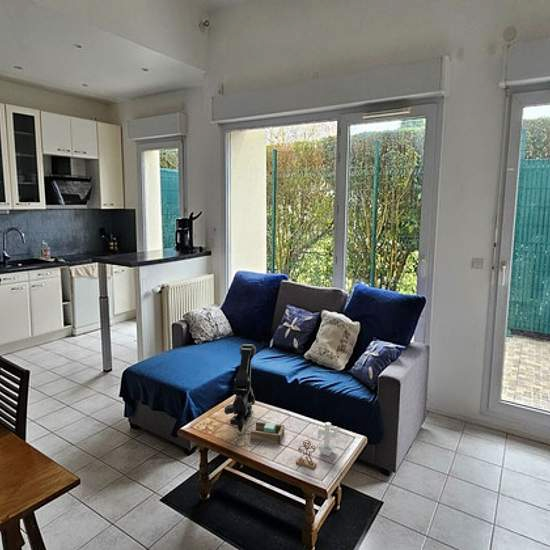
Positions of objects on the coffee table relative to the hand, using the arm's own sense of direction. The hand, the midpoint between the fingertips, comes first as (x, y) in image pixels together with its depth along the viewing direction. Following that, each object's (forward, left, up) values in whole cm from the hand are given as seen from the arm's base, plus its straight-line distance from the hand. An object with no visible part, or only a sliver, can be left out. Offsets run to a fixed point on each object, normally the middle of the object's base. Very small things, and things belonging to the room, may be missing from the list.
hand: (241, 429), depth 216 cm
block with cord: (0, +8, -1) cm, 8 cm away
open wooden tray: (0, +14, -2) cm, 14 cm away
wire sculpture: (+18, +36, -2) cm, 41 cm away
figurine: (+6, +44, -2) cm, 45 cm away
